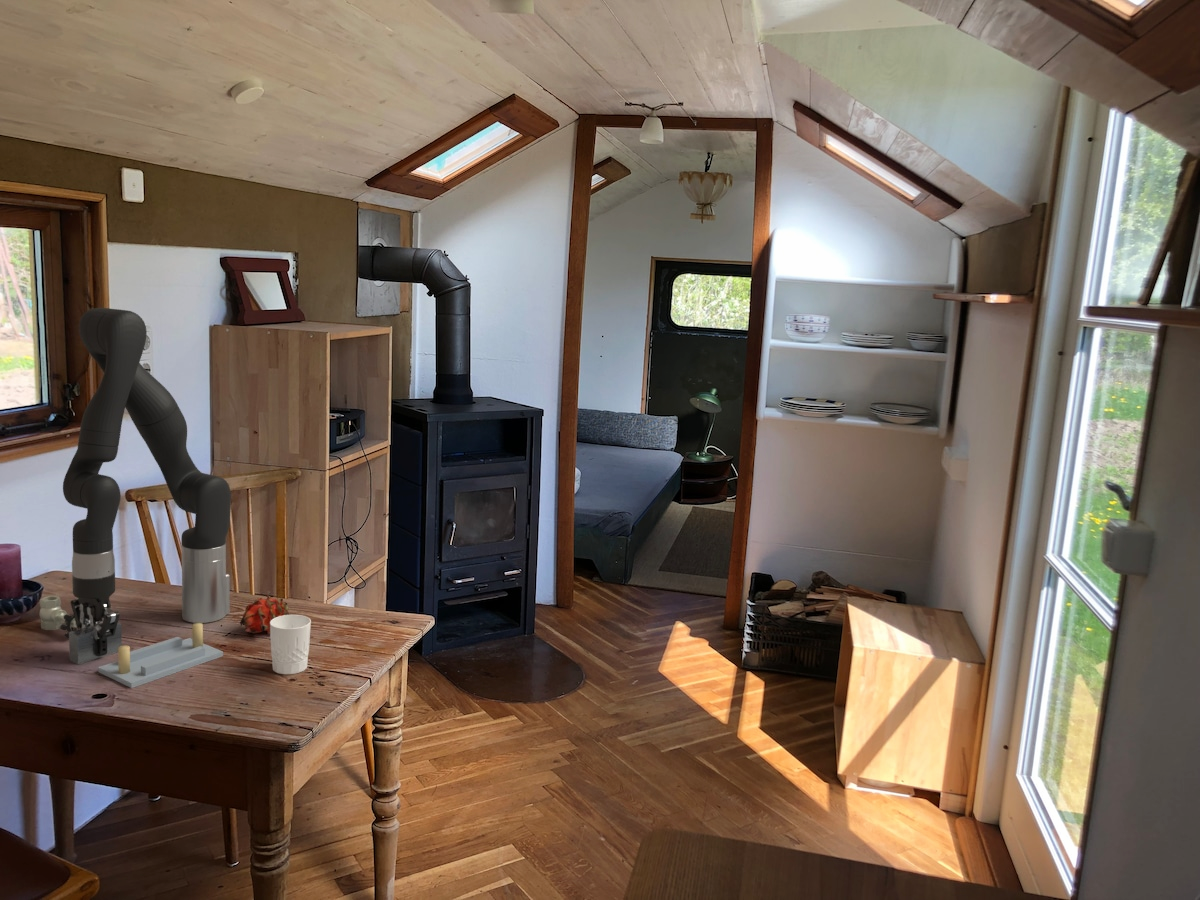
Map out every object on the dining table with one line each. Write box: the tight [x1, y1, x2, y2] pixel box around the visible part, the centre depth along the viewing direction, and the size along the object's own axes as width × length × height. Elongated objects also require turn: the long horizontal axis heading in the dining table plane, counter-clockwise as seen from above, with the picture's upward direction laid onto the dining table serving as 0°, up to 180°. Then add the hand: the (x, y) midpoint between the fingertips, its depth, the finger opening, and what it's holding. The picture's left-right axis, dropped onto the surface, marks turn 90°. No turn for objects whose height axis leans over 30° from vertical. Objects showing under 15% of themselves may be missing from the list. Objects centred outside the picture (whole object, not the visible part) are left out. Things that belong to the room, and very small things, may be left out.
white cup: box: [269, 614, 312, 675], centre depth 190 cm, size 8×8×10 cm
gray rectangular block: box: [68, 621, 123, 665], centre depth 189 cm, size 9×3×6 cm, turn 148°
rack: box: [97, 623, 224, 689], centre depth 188 cm, size 20×11×6 cm, turn 148°
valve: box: [39, 595, 80, 639], centre depth 200 cm, size 7×7×12 cm
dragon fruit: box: [239, 595, 290, 635], centre depth 208 cm, size 8×8×12 cm
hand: (95, 652), depth 190 cm, fingers closed on gray rectangular block, 3 cm apart
